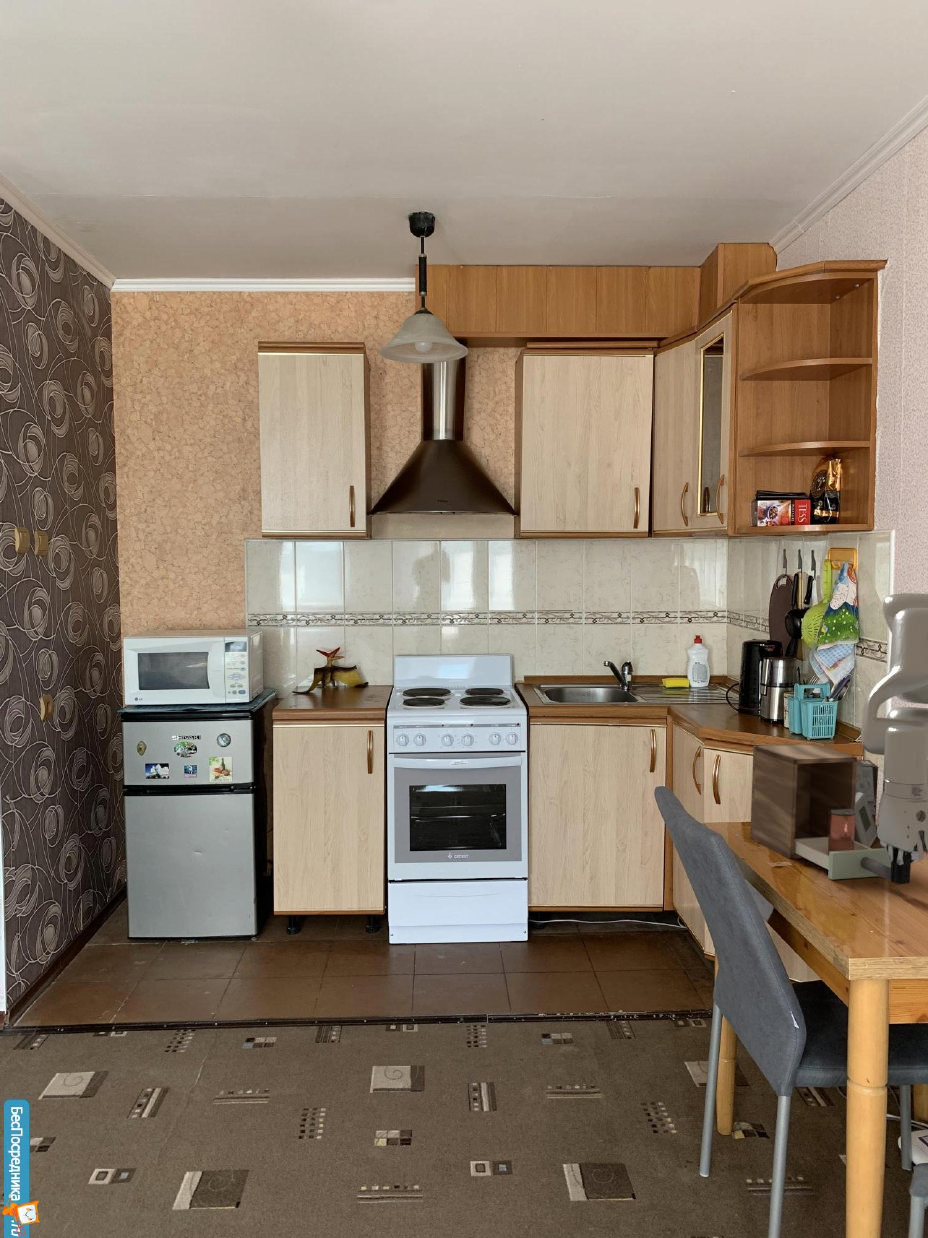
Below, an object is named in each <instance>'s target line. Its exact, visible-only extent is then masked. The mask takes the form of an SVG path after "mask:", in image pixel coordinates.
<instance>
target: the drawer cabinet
mask: <svg viewBox="0 0 928 1238" xmlns="http://www.w3.org/2000/svg"><path fill="white" fill-rule="evenodd" d="M752 752H753V753H752V771H751V773H752V776H751V777H752V778H751V805H750V810H751V811H750V834H749V835H750V839H751V840H753V841H755V842H757V843H759V844H761V845H763V846H764V847H767V848H768V849H770V850H772V851H774V852H776V853H777V854H780V855H781V856H784V857H786V858H787V859H789V860H791V859H792V860H793V859H794V860H796V859H805V858H804V857H802V856H800V855H798V854H796V853H795V852H794V842H795V839H802V838H819V837H828V821H829V812H828V807H830V806H846V807H851V808H854V809H855V797H856V772H857V759H858V757H857V756H854V755H853V754H848V753H845V752H841V751H838V750H835V749H832V748H829V747H825V746H822V745H819V744H815V743H795V744H793V743H792V744H789V743H788V744H765V745H764V744H762V745H753V749H752Z"/></svg>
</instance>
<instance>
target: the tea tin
mask: <svg viewBox="0 0 928 1238" xmlns="http://www.w3.org/2000/svg"><path fill="white" fill-rule="evenodd" d="M828 812H829V821H828V855H829V852H833V851H848V850H854V831H855V809H854V808H851V807H846V806H830V807H828Z"/></svg>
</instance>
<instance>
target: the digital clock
mask: <svg viewBox="0 0 928 1238" xmlns="http://www.w3.org/2000/svg"><path fill="white" fill-rule="evenodd" d="M877 837H878V835H877V825H876V824H875V823H874V820H873V817H872V814H871V811H870V809H869V806H868V803H867V800H866V797H865V795H864V794H863V793H861V792H858V793H856V797H855V831H854V841H856V842H858V843H860V844H863V845H865V846H867V847H869V848H871V846H872V844H873V843H874V842H875V840H876V838H877Z"/></svg>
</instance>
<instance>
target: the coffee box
mask: <svg viewBox="0 0 928 1238" xmlns="http://www.w3.org/2000/svg"><path fill="white" fill-rule="evenodd" d="M878 778H879V766H878V765H877V764H875V763H874V762H872V760H870V759H860V758H859V759H858V758H857V772H856V793H858V792H861V793H863V794H864V795H865V797H866V800H867V803H868V806H869V809H870V811H871V814H872V817H873V820H874V823H875V825H876V824H877V822H876V821H877V802H878V801H877V798H878V781H879V779H878Z"/></svg>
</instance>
